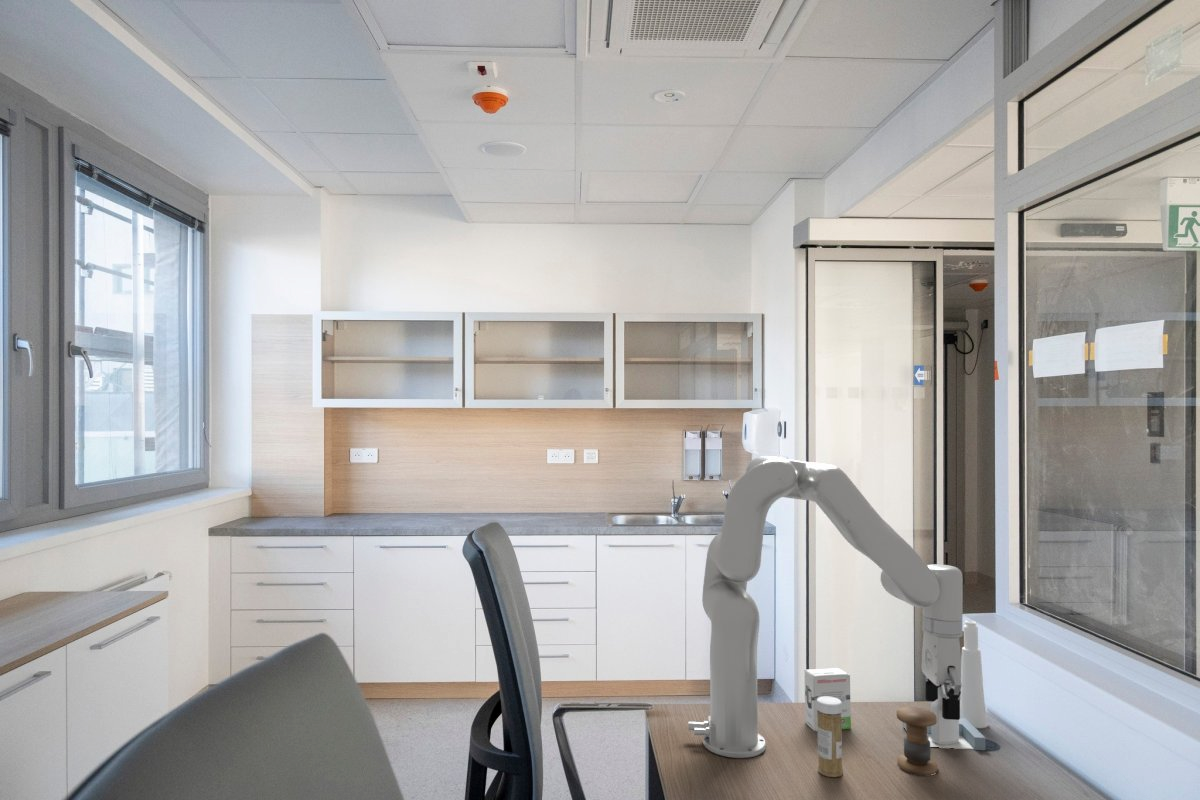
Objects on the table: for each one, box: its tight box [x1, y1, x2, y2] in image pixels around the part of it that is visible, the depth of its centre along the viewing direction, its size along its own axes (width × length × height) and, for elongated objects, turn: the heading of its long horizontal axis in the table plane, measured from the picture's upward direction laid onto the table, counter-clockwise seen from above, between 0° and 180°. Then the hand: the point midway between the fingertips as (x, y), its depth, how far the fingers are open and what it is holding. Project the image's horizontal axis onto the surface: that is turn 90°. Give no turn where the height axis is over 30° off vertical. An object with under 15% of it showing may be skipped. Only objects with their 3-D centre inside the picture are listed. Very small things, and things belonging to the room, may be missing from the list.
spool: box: [896, 706, 939, 776], centre depth 138 cm, size 7×7×10 cm
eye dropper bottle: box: [930, 686, 959, 745], centre depth 149 cm, size 4×6×12 cm
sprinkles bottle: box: [817, 696, 844, 778], centre depth 136 cm, size 5×5×14 cm
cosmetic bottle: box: [960, 620, 989, 729], centre depth 159 cm, size 6×6×22 cm
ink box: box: [803, 667, 852, 732], centre depth 157 cm, size 9×5×12 cm, turn 99°
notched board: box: [902, 718, 986, 751], centre depth 150 cm, size 13×10×2 cm
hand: (942, 709), depth 149 cm, fingers open, 9 cm apart
